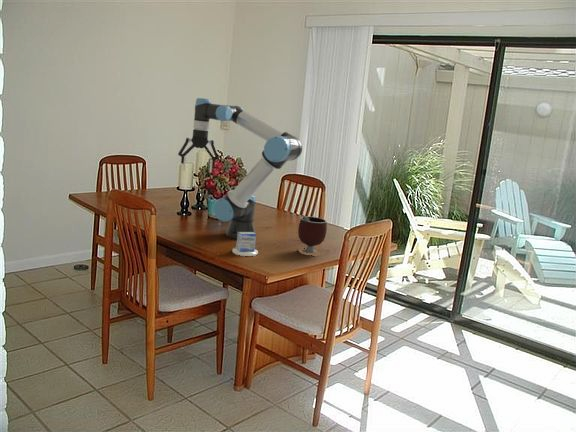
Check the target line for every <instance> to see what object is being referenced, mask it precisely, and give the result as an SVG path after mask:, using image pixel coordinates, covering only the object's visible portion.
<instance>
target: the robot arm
mask: <svg viewBox="0 0 576 432" xmlns="http://www.w3.org/2000/svg"><path fill="white" fill-rule="evenodd" d="M193 119H194V120H193V127H192V128H193V129H192V138H189V137H186V138H185V141H184V144H183V145H182V146H181V149H180V150H179V152H178V153H177V155H178V156H179V157H180V158H181V159H180V163H181V164H182V165H183V166H182V171H186V170H185V169H186V156H187V155H188V154H189V153H190V152H191V151H192V150H193V149H194V148H196V149H204V150H205V151H206V153H207V154H208V155H209V156H210V161H209V163H210V164H209V173H210V174H211V173H212V172H213V171H212V170H213V167H215V161H216V160H218V159H219V155H218V153H217V150H216V148H215V143H214V140H212V139H211V140H209V131H208V130H209V128H210V127H209V126H210V120H216V121H220V122H229V121H230V122H233V123H235V124H236V125H238V126H240V127H242V128H243V129H245V130H247V131H248V132H250V133H252V134H254V135H255V136H257V137H259V138H261V139H263V140H264V141H265V143H264V146H263V150H262V152H261V158H260V159H259V160H258V161H257V162H256V164H255V165H253V167H252V168H251V169H250V171H249V172H248V173H247V174H246V175H245V177H243V178H242V180H241V181H240V182H239V183H238V185H237V186H236V187H235V188H234V189H230V190H228V191H227V193H226V194H225V195H224V196H222V197H221V198H218V199H216V200H215V202H214V204H213V212H214V213H213V214H214V215H215V217H216V218H217V219H218V220H219V221H220V222H224V223H225V222H229V224H228V227H227V229H226V231H225V232H226V233H225V236H226V237H228V238H230V239H234V240H237V235H238V232H254V233H255V234H256V230H255V226H254V219H255V208H256V203H257V202H256V200H257V197H256V195H254V194H255V193H256V192H257V191H258V190H259V189H260V188H261V186H262V185H264V183H265V182H266V181H267V180H268V178H270V176H271V175H272V174H273V173H274V172H275V171H276V170H280V169H282V167H283V166H285V164H286V163H287V162H289V161H295V160H296V159H298V158H299V157H301V155H302V153H303V143H302V142H301V140H300V138H298V137H296V136H295V135H292V134H291V133H288V132H287V131H283V132H282V131H280V130H279V129H277V128H276V127H274V126H272V125H270V124H268V123H266V122H265V121H263V120H261V119H259V118H258V117H256V116H254V115H252V114H250V113H249V112H246V111H245V110H244V108H243V107H241V106H239V105H227V104H226V105H225V104H217V103H212V100H211V98H205V97H204V98H203V97H202V98H201V97H197V98H196V100H195V105H194V118H193ZM190 142H191V143H192V144H191V145H190V146H189V147H188V148H187V149H186V147H187V146H188V144H189V143H190ZM208 144H209V145H210V147H211V149H212V152H213V154H214V155H213V154H212V152H211V151H210V150H209V147H207V145H208ZM185 149H186V150H185ZM212 174H213V173H212Z"/></svg>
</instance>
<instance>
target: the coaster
mask: <svg viewBox="0 0 576 432" xmlns="http://www.w3.org/2000/svg"><path fill="white" fill-rule="evenodd" d="M232 254H234V255H236V256H239V255H240V256H239V257H245V256H253V257H256V255H257V254H259V251H258V250H257V249H255V250H254V251H249V252H239V251H238V250H237V249H236V246H235V247H233V248H232ZM257 256H258V255H257Z"/></svg>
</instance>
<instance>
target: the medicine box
mask: <svg viewBox="0 0 576 432" xmlns="http://www.w3.org/2000/svg"><path fill="white" fill-rule="evenodd" d="M256 239H257V233H256V232H255V233H254V232H238V235H237V239H236V246H235V247H236V249H237V250H238V251H239V252H249V251H254V250H255V248H256V241H257V240H256Z"/></svg>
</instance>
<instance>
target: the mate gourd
mask: <svg viewBox="0 0 576 432" xmlns="http://www.w3.org/2000/svg"><path fill="white" fill-rule="evenodd" d="M327 223H328V221H327V220H326V219H324V218H322V217H319V216H318V217H316V216H306V215H304V214H301V217H300V220H299V223H298V229H297V230H298V239H299V240H300V242H301V243H302V244H305V245H306V247H304V248H305V249H302V251H303V252H306V253H317V251H316V250H317V249H316V250H314V249H315V248H314V247H315V246H319V245H321V244H322V243H323V242H325V239H326V234H327V229H328V226H327V225H328V224H327Z"/></svg>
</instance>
